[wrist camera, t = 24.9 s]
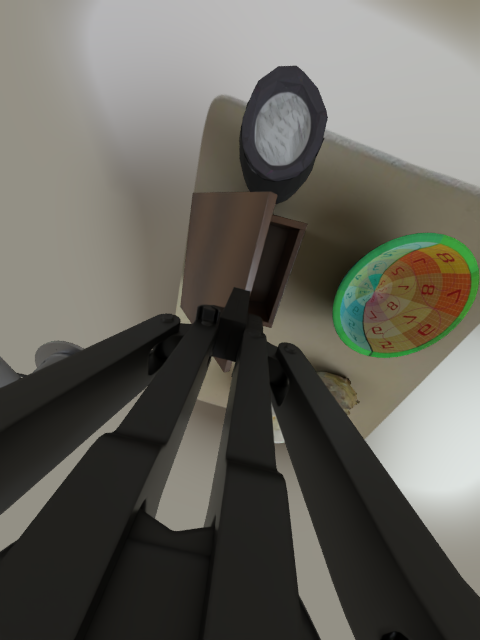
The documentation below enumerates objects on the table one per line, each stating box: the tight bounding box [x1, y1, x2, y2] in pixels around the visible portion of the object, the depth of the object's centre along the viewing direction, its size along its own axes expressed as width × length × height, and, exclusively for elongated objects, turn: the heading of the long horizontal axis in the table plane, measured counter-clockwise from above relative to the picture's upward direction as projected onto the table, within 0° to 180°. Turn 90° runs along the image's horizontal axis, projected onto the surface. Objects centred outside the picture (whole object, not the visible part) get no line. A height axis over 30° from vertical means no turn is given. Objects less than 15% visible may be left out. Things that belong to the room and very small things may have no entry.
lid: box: [180, 192, 277, 372], centre depth 24 cm, size 18×18×1 cm
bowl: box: [332, 233, 479, 358], centre depth 37 cm, size 22×22×10 cm
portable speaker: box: [239, 66, 328, 204], centre depth 26 cm, size 9×9×20 cm
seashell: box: [317, 372, 360, 415], centre depth 49 cm, size 11×15×10 cm
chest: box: [248, 215, 308, 328], centre depth 36 cm, size 17×18×11 cm
